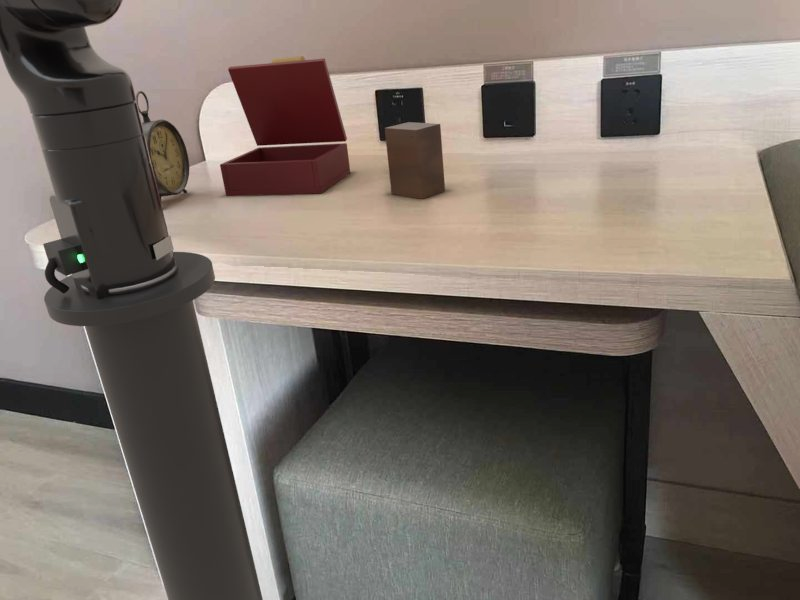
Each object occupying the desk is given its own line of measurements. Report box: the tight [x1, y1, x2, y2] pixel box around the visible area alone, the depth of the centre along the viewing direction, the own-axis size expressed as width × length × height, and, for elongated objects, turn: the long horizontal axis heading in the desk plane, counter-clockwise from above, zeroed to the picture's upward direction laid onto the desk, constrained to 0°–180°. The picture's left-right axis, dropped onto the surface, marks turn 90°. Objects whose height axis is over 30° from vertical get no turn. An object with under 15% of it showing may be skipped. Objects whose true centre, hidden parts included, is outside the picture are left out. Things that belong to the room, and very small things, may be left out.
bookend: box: [384, 121, 446, 200], centre depth 92 cm, size 4×6×9 cm
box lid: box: [227, 55, 348, 147], centre depth 107 cm, size 13×16×5 cm
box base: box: [219, 142, 351, 197], centre depth 105 cm, size 13×16×5 cm
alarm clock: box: [135, 90, 190, 202], centre depth 100 cm, size 11×5×16 cm, turn 170°
